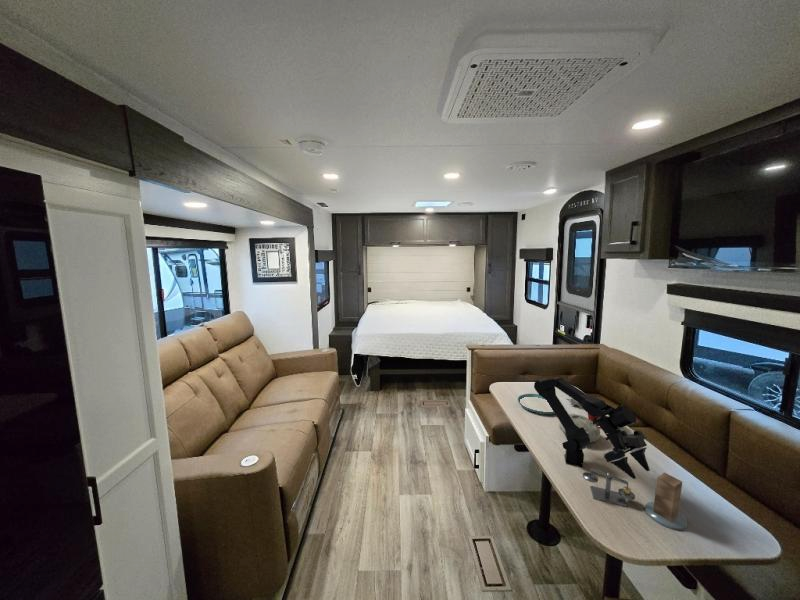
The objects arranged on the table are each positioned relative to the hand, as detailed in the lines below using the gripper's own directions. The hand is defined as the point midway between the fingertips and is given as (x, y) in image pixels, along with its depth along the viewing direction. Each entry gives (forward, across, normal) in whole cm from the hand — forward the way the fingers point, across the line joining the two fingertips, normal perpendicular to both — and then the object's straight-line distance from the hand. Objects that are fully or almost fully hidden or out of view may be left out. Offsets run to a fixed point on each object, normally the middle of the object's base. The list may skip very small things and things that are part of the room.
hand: (641, 474), depth 114 cm
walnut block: (+12, 0, +1) cm, 12 cm away
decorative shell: (-18, +21, +34) cm, 44 cm away
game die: (-35, +52, +50) cm, 80 cm away
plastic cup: (-21, +40, +36) cm, 58 cm away
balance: (+3, -8, +12) cm, 15 cm away
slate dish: (+13, 0, +2) cm, 13 cm away
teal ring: (-41, +31, +57) cm, 76 cm away
